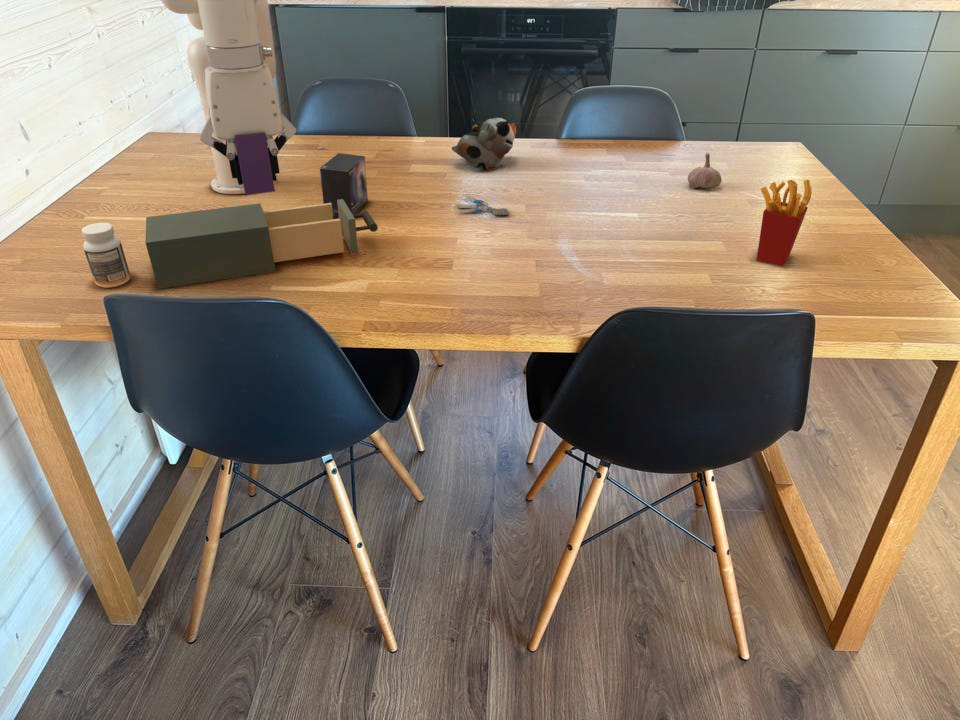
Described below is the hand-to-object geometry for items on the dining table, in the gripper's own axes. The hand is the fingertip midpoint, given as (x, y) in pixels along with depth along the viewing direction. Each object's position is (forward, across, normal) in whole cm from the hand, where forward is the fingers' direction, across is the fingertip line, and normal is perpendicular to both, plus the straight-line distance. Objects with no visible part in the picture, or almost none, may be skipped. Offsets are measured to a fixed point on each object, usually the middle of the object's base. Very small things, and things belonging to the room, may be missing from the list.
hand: (256, 178), depth 111 cm
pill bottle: (+19, +26, -10) cm, 33 cm away
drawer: (+17, -9, -10) cm, 22 cm away
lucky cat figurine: (+18, -58, -48) cm, 77 cm away
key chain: (+18, -45, -19) cm, 52 cm away
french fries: (+19, -89, +21) cm, 93 cm away
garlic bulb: (+19, -100, -14) cm, 103 cm away
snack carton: (+1, 0, 0) cm, 1 cm away
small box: (+18, -19, -29) cm, 39 cm away
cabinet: (+18, +9, -10) cm, 23 cm away
